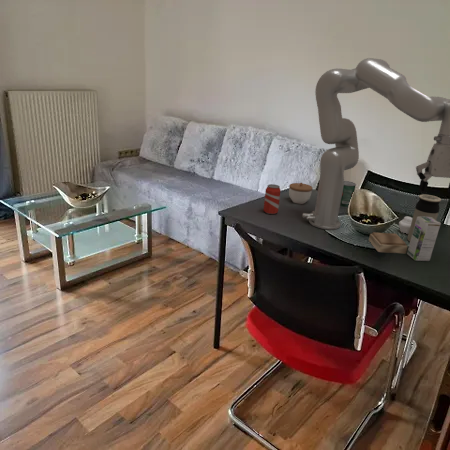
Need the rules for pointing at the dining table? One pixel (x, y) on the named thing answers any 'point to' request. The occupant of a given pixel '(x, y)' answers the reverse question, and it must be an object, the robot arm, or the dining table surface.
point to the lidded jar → (299, 192)
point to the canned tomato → (347, 193)
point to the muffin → (405, 224)
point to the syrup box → (423, 238)
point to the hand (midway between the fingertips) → (436, 192)
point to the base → (388, 242)
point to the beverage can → (272, 199)
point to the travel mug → (425, 210)
